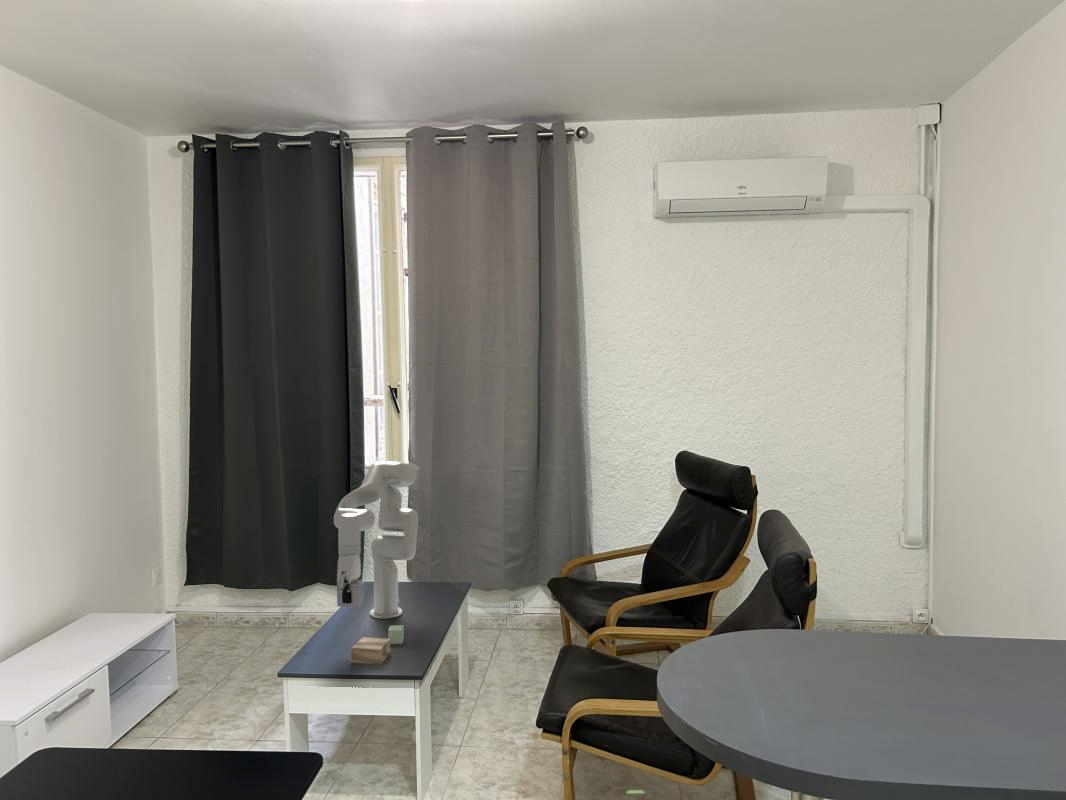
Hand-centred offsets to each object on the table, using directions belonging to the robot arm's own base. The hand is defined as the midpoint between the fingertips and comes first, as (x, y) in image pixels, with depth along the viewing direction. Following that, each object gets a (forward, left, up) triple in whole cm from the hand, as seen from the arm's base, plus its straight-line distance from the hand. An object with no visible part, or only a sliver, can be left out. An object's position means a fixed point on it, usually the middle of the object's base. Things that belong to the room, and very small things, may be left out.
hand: (350, 600), depth 261 cm
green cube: (-9, +13, -17) cm, 24 cm away
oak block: (+7, +10, -17) cm, 21 cm away
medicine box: (0, 0, -2) cm, 2 cm away
